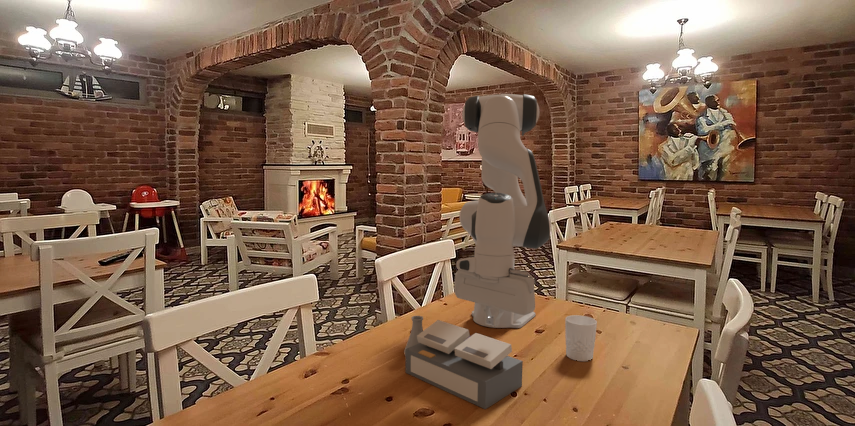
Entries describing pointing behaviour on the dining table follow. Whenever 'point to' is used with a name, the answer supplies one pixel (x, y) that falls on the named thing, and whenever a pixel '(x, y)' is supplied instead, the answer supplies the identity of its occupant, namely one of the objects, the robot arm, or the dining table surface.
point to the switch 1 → (443, 336)
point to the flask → (414, 332)
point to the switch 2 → (483, 350)
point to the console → (464, 375)
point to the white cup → (580, 337)
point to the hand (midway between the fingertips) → (492, 324)
